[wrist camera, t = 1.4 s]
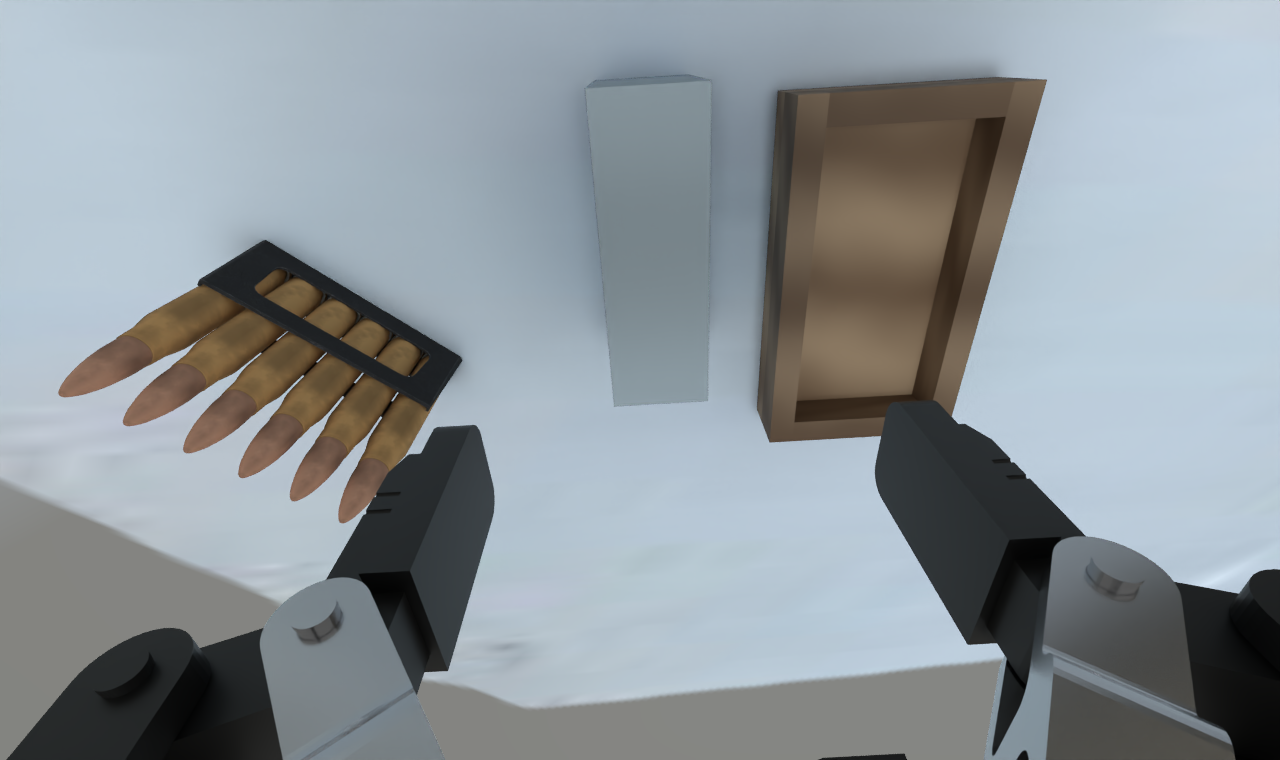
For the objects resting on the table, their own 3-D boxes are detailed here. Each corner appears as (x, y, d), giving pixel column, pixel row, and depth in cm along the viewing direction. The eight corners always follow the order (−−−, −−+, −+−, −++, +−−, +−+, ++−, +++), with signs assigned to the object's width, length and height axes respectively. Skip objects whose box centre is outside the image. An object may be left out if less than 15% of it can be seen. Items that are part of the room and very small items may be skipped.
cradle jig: (777, 90, 24) (798, 95, 21) (997, 77, 24) (1047, 79, 21) (757, 409, 32) (769, 442, 29) (919, 399, 32) (947, 432, 29)
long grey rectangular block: (595, 80, 23) (584, 88, 17) (688, 74, 23) (711, 80, 17) (616, 335, 29) (614, 406, 23) (690, 330, 29) (707, 401, 23)
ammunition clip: (463, 358, 30) (378, 518, 19) (447, 381, 31) (356, 548, 20) (264, 238, 26) (31, 356, 16) (251, 268, 27) (19, 399, 17)
